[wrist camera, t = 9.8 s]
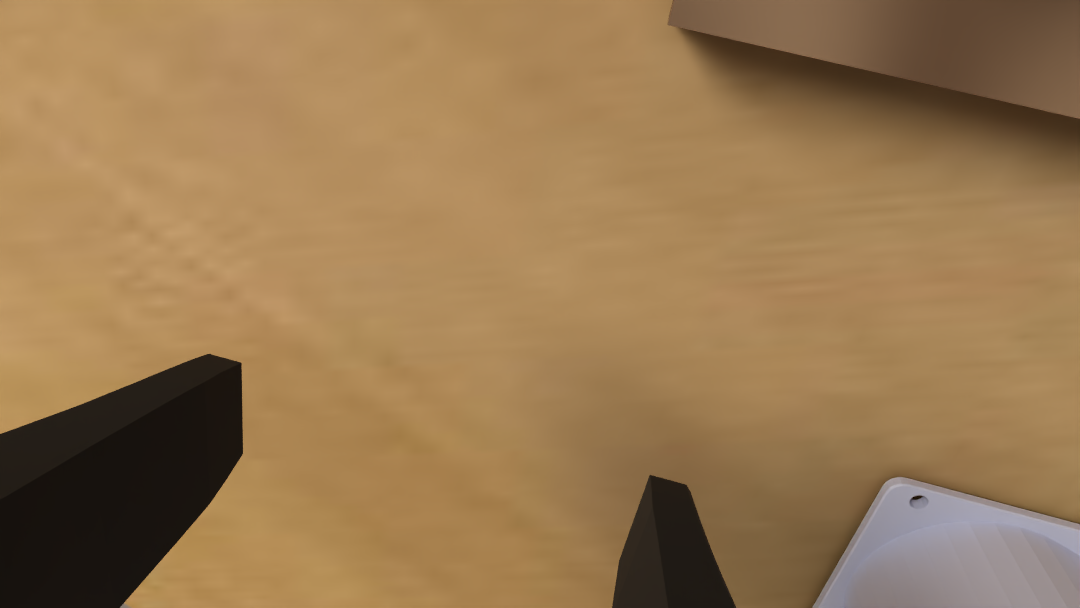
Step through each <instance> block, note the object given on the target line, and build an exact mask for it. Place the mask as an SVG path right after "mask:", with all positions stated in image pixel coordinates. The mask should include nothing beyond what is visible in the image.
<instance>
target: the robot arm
mask: <svg viewBox="0 0 1080 608" xmlns="http://www.w3.org/2000/svg"><path fill="white" fill-rule="evenodd" d="M242 454H243V429H242V370H241V363H240V362H237V361H233V360H229V359H226V358H222V357H218V356H215V355H211V354H207V355H204V356H201V357H198V358H195V359H193V360H190V361H187V362H185V363H182V364H180V365H177V366H175V367H172V368H170V369H167V370H165V371H162V372H160V373H158V374H155V375H153V376H150V377H148V378H145V379H143V380H141V381H138V382H136V383H133V384H131V385H128V386H126V387H123V388H121V389H119V390H116V391H114V392H111V393H109V394H106V395H104V396H101V397H99V398H96V399H94V400H91V401H89V402H86V403H84V404H81V405H79V406H76V407H73V408H71V409H68V410H65V411H63V412H60V413H57V414H54V415H52V416H49V417H46V418H43V419H41V420H38V421H35V422H32V423H30V424H27V425H24V426H22V427H19V428H16V429H13V430H11V431H8V432H5V433H2V434H0V608H120V606H122V604H123V603H124V602H125V601H126V600H127V599H128V598H129V596H130V595H131V594H132V593H133V592H134V591H135V590H136V588H137V587H138V586H139V585H140V584H141V583H142V581H143V580H144V579H145V578H146V577H147V576H148V575H149V573H150V572H151V571H152V570H153V569H154V568H155V567H156V565H157V564H158V563H159V562H160V561H161V560H162V559H163V557H164V556H165V555H166V554H167V553H168V552H169V551H170V549H171V548H172V547H173V546H174V545H175V544H176V543H177V541H178V540H179V539H180V538H181V537H182V536H183V534H184V533H185V532H186V531H187V530H188V529H189V527H190V526H191V525H192V524H193V523H194V522H195V520H196V519H197V518H198V517H199V516H200V515H201V513H202V512H203V511H204V510H205V509H206V507H207V506H208V505H209V504H210V503H211V501H212V500H213V498H214V497H215V495H216V494H217V492H218V491H219V490H220V488H221V487H222V485H223V484H224V482H225V481H226V479H227V478H228V476H229V475H230V473H231V471H232V470H233V468H234V467H235V465H236V464H237V462H238V461H239V459H240V457H241V456H242ZM917 495H921V496H923V497H922V498H920V499H917V500H911V498H912V497H914V496H917ZM612 608H736V606H735V604H734V602H733V599H732V597H731V595H730V593H729V590H728V588H727V586H726V583H725V581H724V579H723V577H722V574H721V572H720V570H719V567H718V565H717V563H716V560H715V558H714V555H713V553H712V550H711V548H710V545H709V543H708V540H707V537H706V535H705V532H704V529H703V527H702V524H701V521H700V518H699V516H698V513H697V510H696V507H695V504H694V501H693V498H692V495H691V492H690V490H689V489H688V487H687V485H685V484H681V483H678V482H674V481H670V480H667V479H663V478H659V477H656V476H652V475H650V476H649V479H648V482H647V485H646V487H645V490H644V493H643V496H642V499H641V501H640V504H639V507H638V510H637V513H636V515H635V518H634V521H633V524H632V527H631V529H630V532H629V535H628V538H627V541H626V543H625V546H624V549H623V552H622V555H621V557H620V560H619V566H618V573H617V579H616V586H615V592H614V599H613V606H612ZM812 608H1080V524H1077V523H1073V522H1070V521H1066V520H1062V519H1058V518H1055V517H1051V516H1047V515H1044V514H1040V513H1036V512H1032V511H1029V510H1025V509H1021V508H1017V507H1014V506H1010V505H1006V504H1002V503H999V502H995V501H991V500H987V499H984V498H980V497H976V496H973V495H969V494H965V493H961V492H958V491H954V490H950V489H946V488H943V487H939V486H935V485H931V484H928V483H924V482H920V481H917V480H913V479H909V478H904V477H896V478H892V479H890V480H888V481H886V482H885V484H884V485H883V486H882V488H881V489H880V491H879V493H878V495H877V496H876V498H875V500H874V501H873V503H872V505H871V507H870V508H869V510H868V512H867V514H866V515H865V517H864V519H863V521H862V522H861V524H860V526H859V527H858V529H857V531H856V533H855V534H854V536H853V538H852V540H851V541H850V543H849V545H848V547H847V548H846V550H845V552H844V553H843V555H842V557H841V559H840V560H839V562H838V564H837V566H836V567H835V569H834V571H833V573H832V574H831V576H830V578H829V579H828V581H827V583H826V585H825V586H824V588H823V590H822V592H821V593H820V595H819V597H818V599H817V600H816V602H815V604H814V605H813V607H812Z"/></svg>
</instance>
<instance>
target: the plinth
mask: <svg viewBox="0 0 1080 608" xmlns="http://www.w3.org/2000/svg"><path fill="white" fill-rule="evenodd" d="M668 25H671V26H675V27H679V28H684V29H688V30H692V31H697V32H701V33H706V34H710V35H714V36H719V37H723V38H728V39H732V40H736V41H741V42H745V43H750V44H754V45H758V46H763V47H767V48H771V49H776V50H780V51H785V52H789V53H793V54H798V55H802V56H807V57H811V58H815V59H820V60H824V61H828V62H833V63H837V64H842V65H846V66H850V67H855V68H859V69H864V70H868V71H872V72H877V73H881V74H885V75H890V76H894V77H899V78H903V79H907V80H912V81H916V82H921V83H925V84H929V85H934V86H938V87H942V88H947V89H951V90H956V91H960V92H964V93H969V94H973V95H978V96H982V97H986V98H991V99H995V100H999V101H1004V102H1008V103H1013V104H1017V105H1021V106H1026V107H1030V108H1035V109H1039V110H1043V111H1048V112H1052V113H1057V114H1061V115H1065V116H1070V117H1074V118H1078V119H1080V0H673V3H672V7H671V11H670V15H669V20H668Z"/></svg>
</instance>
